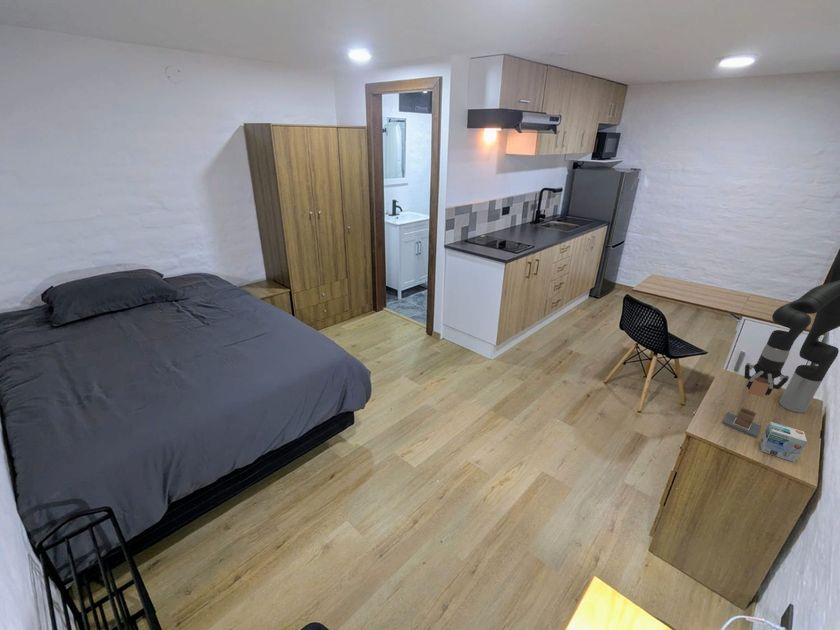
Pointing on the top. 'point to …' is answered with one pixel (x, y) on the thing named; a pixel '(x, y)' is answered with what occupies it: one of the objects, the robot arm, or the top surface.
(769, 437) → the light bulb box
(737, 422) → the walnut block
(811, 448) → the top surface
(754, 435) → the plate
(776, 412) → the top surface
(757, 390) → the rust block
